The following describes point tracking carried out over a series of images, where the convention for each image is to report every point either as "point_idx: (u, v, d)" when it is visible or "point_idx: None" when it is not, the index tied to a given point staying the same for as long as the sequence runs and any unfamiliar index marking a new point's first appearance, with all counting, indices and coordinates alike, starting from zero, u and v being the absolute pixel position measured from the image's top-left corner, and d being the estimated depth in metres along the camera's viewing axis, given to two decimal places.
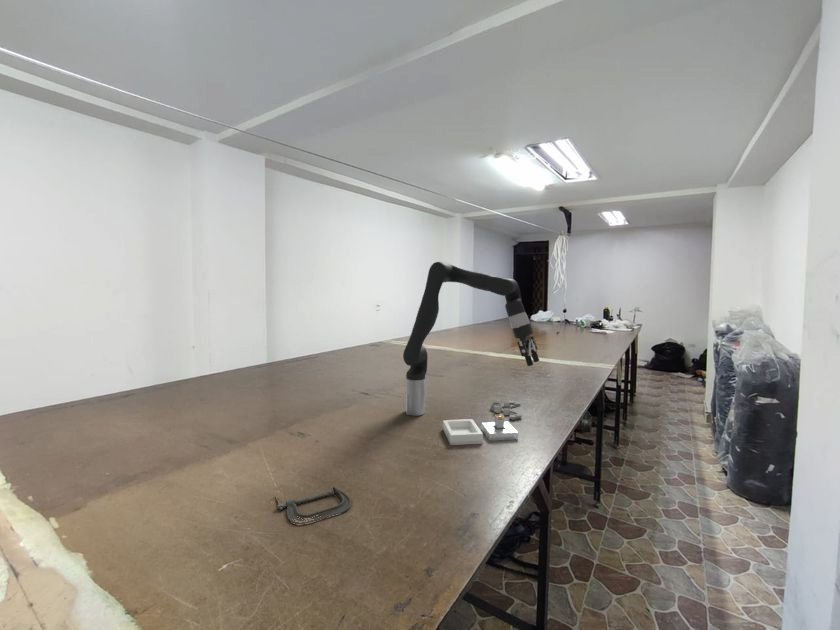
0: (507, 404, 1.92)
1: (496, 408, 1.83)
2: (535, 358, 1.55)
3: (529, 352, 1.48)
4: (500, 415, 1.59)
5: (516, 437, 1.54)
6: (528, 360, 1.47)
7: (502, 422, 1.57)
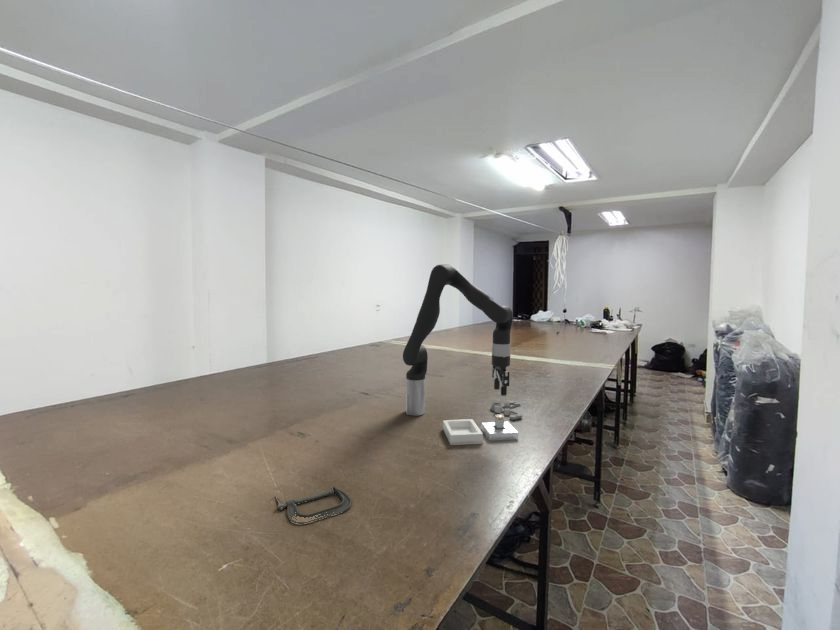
0: (507, 404, 1.92)
1: (496, 408, 1.83)
2: (496, 386, 1.61)
3: None
4: (500, 415, 1.59)
5: (516, 437, 1.54)
6: (505, 390, 1.52)
7: (502, 422, 1.57)
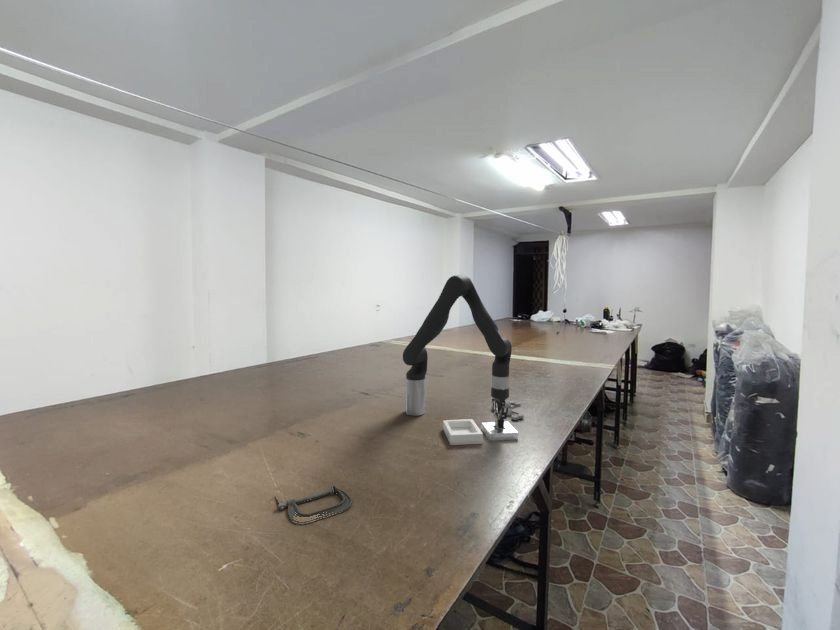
0: (508, 404, 1.92)
1: None
2: None
3: None
4: None
5: (516, 437, 1.54)
6: (502, 423, 1.56)
7: None
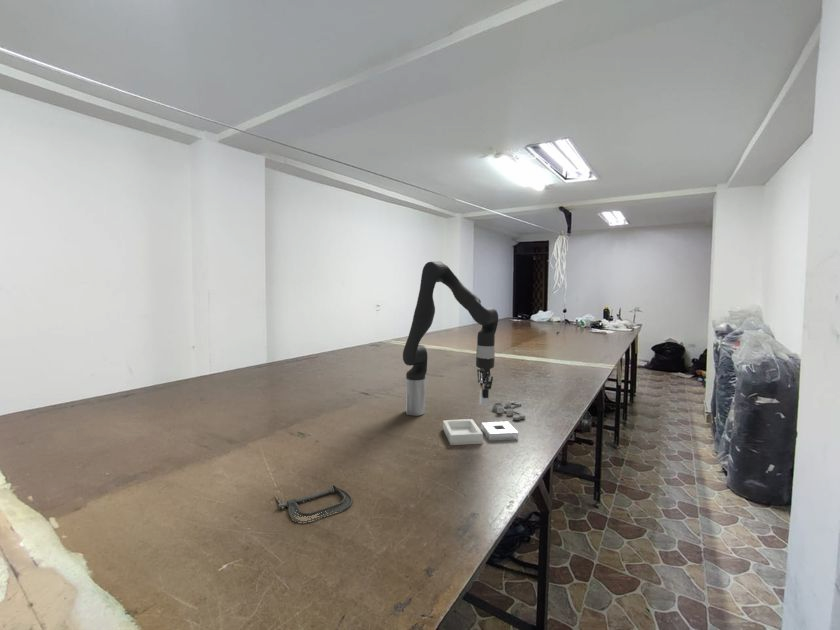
0: (509, 404, 1.92)
1: (499, 409, 1.82)
2: None
3: None
4: None
5: (516, 437, 1.54)
6: (486, 393, 1.54)
7: None
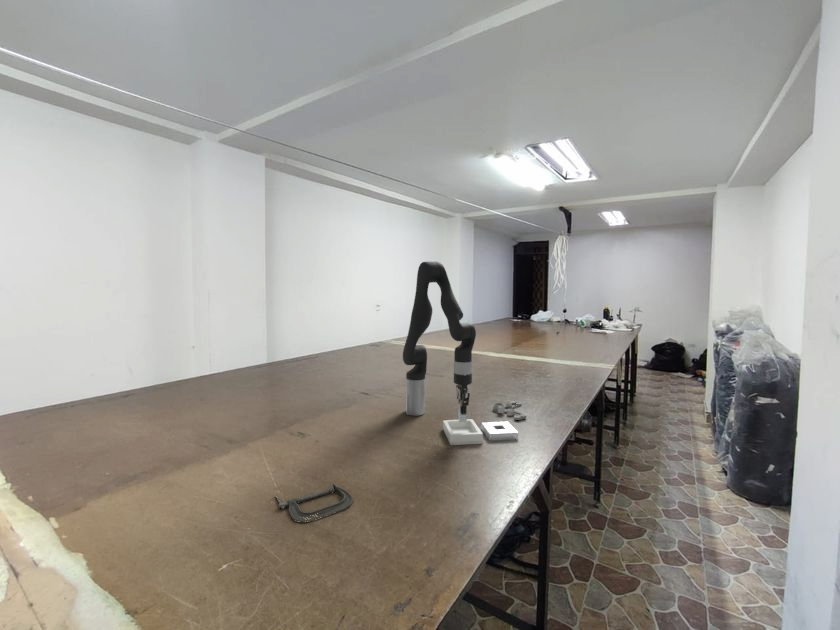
0: (509, 404, 1.92)
1: (500, 409, 1.82)
2: None
3: (466, 401, 1.54)
4: None
5: (516, 437, 1.54)
6: (464, 409, 1.53)
7: None
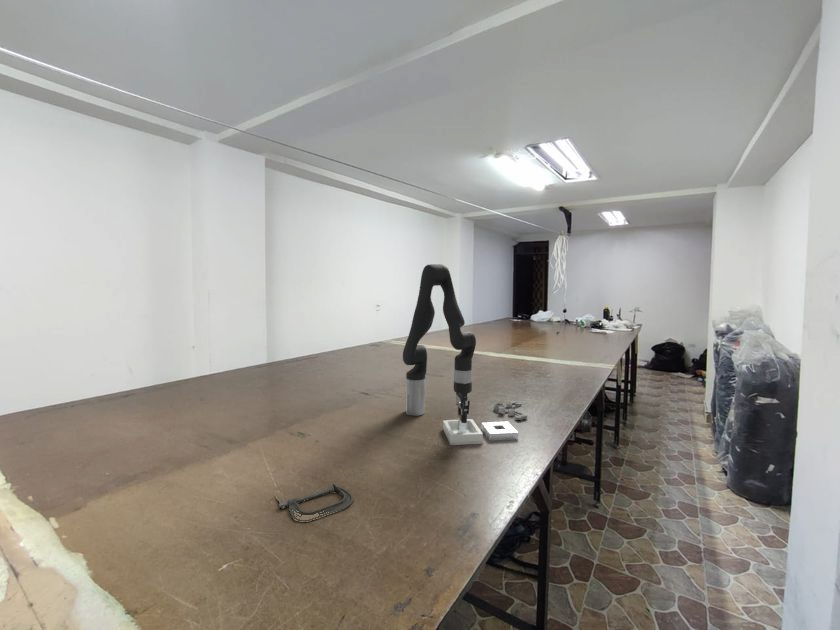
0: (509, 404, 1.92)
1: (501, 409, 1.82)
2: None
3: None
4: None
5: (516, 437, 1.54)
6: (465, 418, 1.52)
7: None
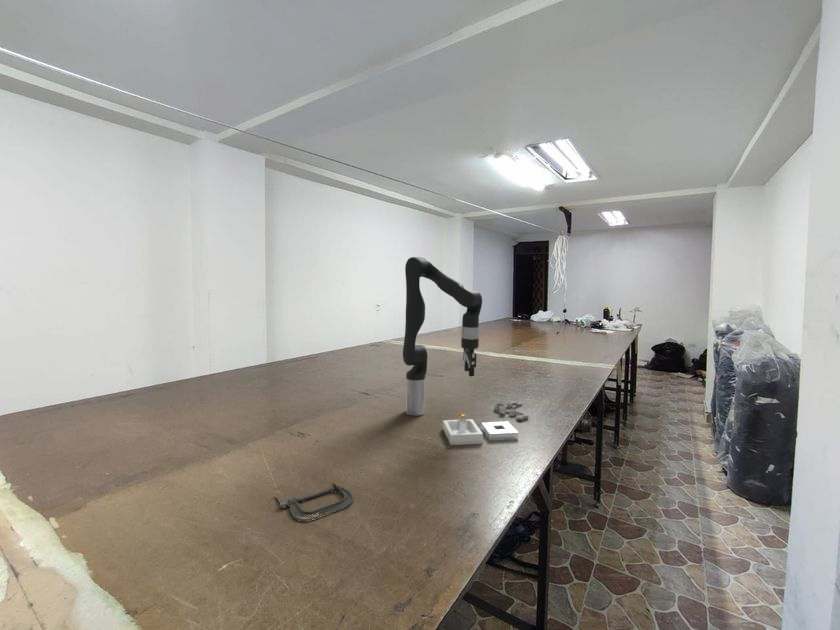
0: (510, 405, 1.92)
1: (502, 409, 1.81)
2: (466, 368, 1.69)
3: None
4: (463, 414, 1.57)
5: (516, 437, 1.54)
6: (472, 371, 1.60)
7: (464, 421, 1.55)
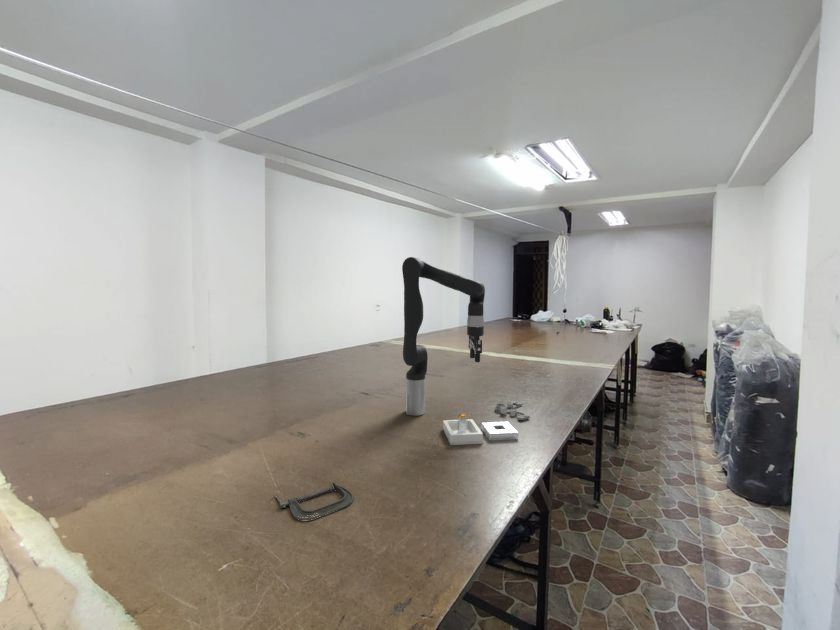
0: (511, 405, 1.92)
1: (503, 409, 1.81)
2: (472, 355, 1.77)
3: (480, 350, 1.69)
4: (463, 414, 1.57)
5: (516, 437, 1.54)
6: (478, 357, 1.68)
7: (464, 421, 1.55)
